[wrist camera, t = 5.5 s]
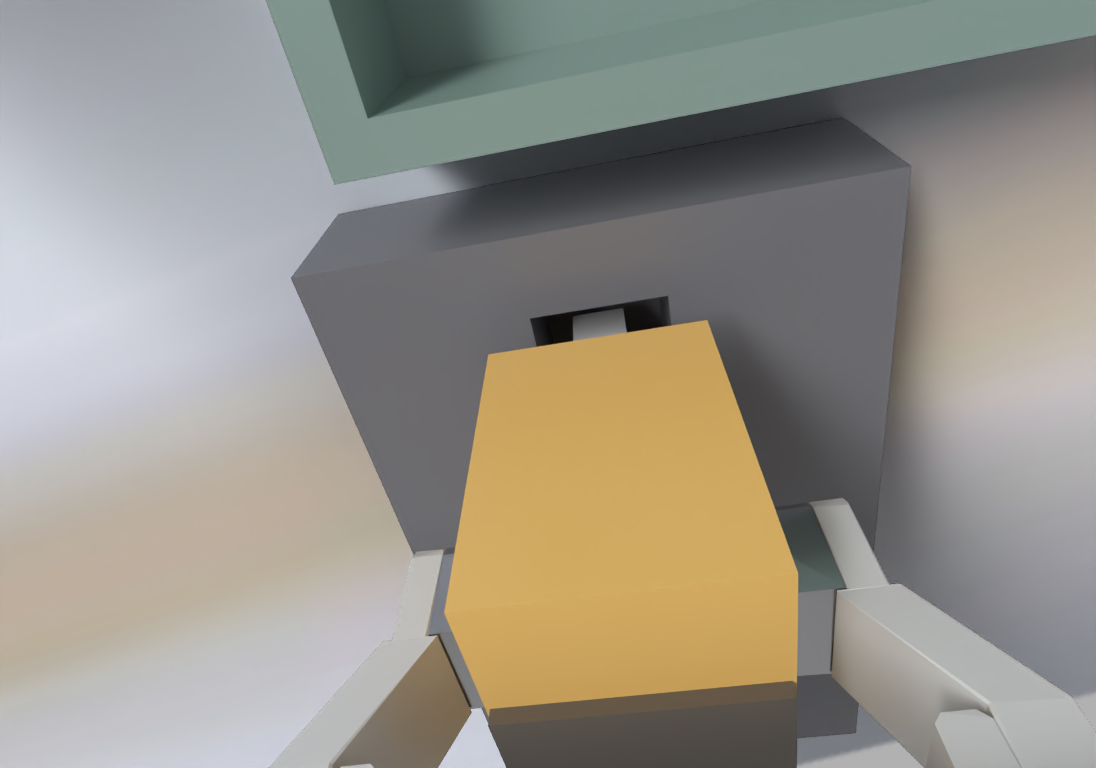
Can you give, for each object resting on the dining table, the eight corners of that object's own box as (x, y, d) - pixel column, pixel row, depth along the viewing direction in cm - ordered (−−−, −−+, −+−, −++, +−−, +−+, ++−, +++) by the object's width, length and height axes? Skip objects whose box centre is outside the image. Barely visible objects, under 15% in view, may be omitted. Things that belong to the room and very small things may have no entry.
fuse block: (821, 639, 22) (855, 732, 19) (512, 671, 23) (505, 763, 20) (843, 118, 13) (910, 165, 10) (338, 214, 14) (291, 277, 12)
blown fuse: (702, 472, 16) (798, 853, 9) (553, 491, 16) (547, 869, 10) (682, 252, 13) (804, 590, 6) (500, 283, 13) (441, 630, 7)
